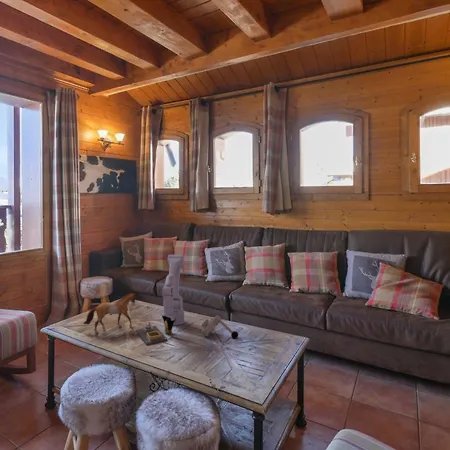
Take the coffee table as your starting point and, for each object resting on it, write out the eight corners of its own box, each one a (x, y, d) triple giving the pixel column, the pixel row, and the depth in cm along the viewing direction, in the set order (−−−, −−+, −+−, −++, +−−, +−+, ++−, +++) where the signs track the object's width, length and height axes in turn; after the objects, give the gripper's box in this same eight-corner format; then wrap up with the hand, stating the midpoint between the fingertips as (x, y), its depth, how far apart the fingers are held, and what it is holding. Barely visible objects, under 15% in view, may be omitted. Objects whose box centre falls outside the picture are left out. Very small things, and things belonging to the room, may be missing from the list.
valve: (221, 355, 185) (237, 339, 181) (195, 331, 187) (211, 315, 182) (225, 346, 195) (241, 330, 191) (201, 323, 197) (216, 307, 192)
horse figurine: (136, 323, 207) (135, 291, 205) (138, 327, 200) (138, 295, 198) (83, 331, 193) (82, 298, 191) (84, 336, 186) (83, 302, 184)
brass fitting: (170, 331, 194) (170, 318, 194) (172, 334, 191) (172, 320, 190) (164, 332, 192) (164, 319, 192) (166, 335, 189) (166, 322, 188)
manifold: (155, 327, 200) (155, 317, 200) (167, 340, 182) (167, 330, 182) (135, 331, 194) (135, 321, 194) (146, 345, 176) (146, 334, 176)
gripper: (157, 303, 194) (157, 325, 196) (166, 310, 182) (166, 334, 183) (168, 301, 198) (168, 323, 199) (178, 308, 186) (178, 331, 187)
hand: (168, 328), depth 191 cm, fingers open, 4 cm apart
